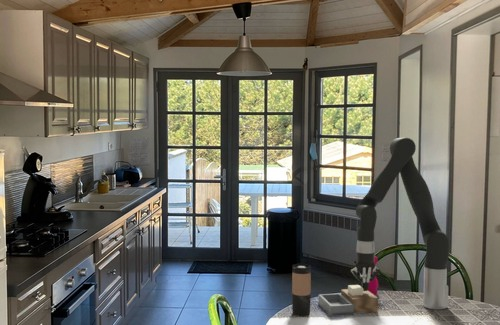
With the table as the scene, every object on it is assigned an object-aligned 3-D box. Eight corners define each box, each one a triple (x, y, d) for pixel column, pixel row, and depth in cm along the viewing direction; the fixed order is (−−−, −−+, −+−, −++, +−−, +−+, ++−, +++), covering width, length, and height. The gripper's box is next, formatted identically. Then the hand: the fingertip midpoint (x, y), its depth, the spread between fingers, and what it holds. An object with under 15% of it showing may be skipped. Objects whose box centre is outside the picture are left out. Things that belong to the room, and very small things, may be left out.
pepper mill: (378, 296, 255) (379, 253, 254) (362, 295, 256) (363, 252, 255) (378, 292, 262) (378, 249, 261) (362, 291, 263) (363, 249, 262)
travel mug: (312, 311, 234) (312, 264, 233) (308, 317, 227) (308, 268, 226) (294, 309, 237) (294, 262, 236) (289, 315, 230) (290, 267, 228)
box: (340, 302, 247) (340, 293, 247) (353, 314, 231) (353, 304, 231) (318, 303, 245) (318, 294, 245) (330, 315, 229) (330, 306, 229)
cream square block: (358, 291, 242) (358, 284, 242) (363, 295, 237) (363, 288, 237) (347, 292, 241) (347, 285, 241) (351, 295, 236) (352, 288, 236)
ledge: (364, 301, 248) (364, 288, 248) (377, 311, 234) (377, 297, 234) (340, 302, 246) (341, 289, 245) (352, 313, 232) (352, 299, 232)
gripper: (376, 248, 244) (375, 287, 245) (347, 249, 241) (347, 288, 243) (383, 252, 237) (383, 292, 238) (354, 253, 234) (353, 294, 235)
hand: (364, 290), depth 240 cm, fingers closed
